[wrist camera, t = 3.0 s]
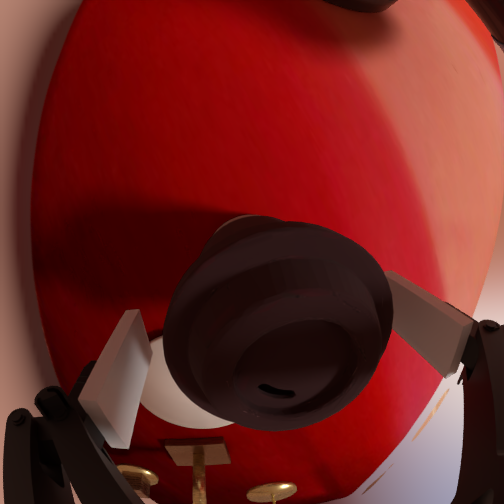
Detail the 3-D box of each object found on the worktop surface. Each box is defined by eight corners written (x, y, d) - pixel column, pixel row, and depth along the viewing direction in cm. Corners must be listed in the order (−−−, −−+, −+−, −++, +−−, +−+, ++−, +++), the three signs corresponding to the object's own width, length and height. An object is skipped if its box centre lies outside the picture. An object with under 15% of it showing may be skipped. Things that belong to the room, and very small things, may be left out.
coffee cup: (273, 176, 21) (377, 178, 7) (322, 274, 24) (424, 377, 10) (168, 236, 22) (96, 337, 7) (228, 326, 25) (246, 470, 10)
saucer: (115, 333, 23) (111, 339, 22) (256, 318, 25) (258, 325, 23) (155, 422, 27) (154, 429, 26) (266, 413, 29) (268, 420, 27)
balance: (115, 436, 28) (96, 519, 13) (282, 428, 30) (310, 521, 16) (131, 457, 29) (119, 533, 15) (283, 449, 32) (306, 531, 17)
